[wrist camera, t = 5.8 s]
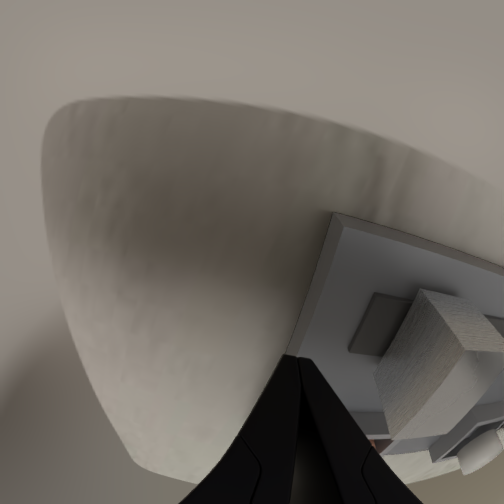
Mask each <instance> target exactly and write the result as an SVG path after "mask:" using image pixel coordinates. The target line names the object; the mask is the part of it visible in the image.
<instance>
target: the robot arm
mask: <svg viewBox="0 0 504 504" xmlns="http://www.w3.org/2000/svg"><path fill="white" fill-rule="evenodd" d="M501 428H504V424H503V425H502V426H501V427H500V428H499V429H501ZM178 504H423V503H422V502H421V501H420V500H419V499H418V498H417V497H416V496H415V495H414V494H413V493H412V492H411V491H410V490H409V488H407V486H406V485H405V484H404V483H403V482H402V481H401V480H400V479H399V478H398V477H397V475H396V474H395V473H394V472H393V471H392V470H391V469H390V467H389V466H388V465H387V463H386V462H385V461H384V460H383V458H382V457H381V456H380V454H379V453H378V452H377V450H376V449H375V447H374V446H372V443H371V442H370V441H369V439H368V438H367V436H366V435H365V434H364V432H363V431H362V429H361V428H360V427H359V425H358V424H357V422H356V421H355V420H354V418H353V417H352V415H351V414H350V413H349V411H348V410H347V408H346V407H345V406H344V404H343V403H342V401H341V400H340V399H339V397H338V396H337V394H336V393H335V392H334V390H333V389H332V387H331V386H330V384H329V383H328V382H327V380H326V379H325V377H324V376H323V374H322V373H321V372H320V370H319V369H318V367H317V366H316V364H315V363H314V362H313V360H312V359H310V358H305V357H296V356H294V355H288V354H283V355H282V357H281V358H280V360H279V362H278V364H277V366H276V368H275V370H274V372H273V373H272V375H271V377H270V379H269V381H268V383H267V384H266V386H265V388H264V390H263V392H262V393H261V395H260V397H259V399H258V400H257V402H256V404H255V406H254V407H253V409H252V411H251V413H250V414H249V416H248V418H247V419H246V421H245V423H244V424H243V426H242V428H241V429H240V431H239V433H238V435H237V436H236V437H235V439H234V440H233V442H232V444H231V445H230V447H229V448H228V450H227V451H226V453H225V454H224V455H223V457H222V458H221V460H220V461H219V462H218V463H217V465H216V466H215V467H214V468H213V469H212V470H211V471H210V473H209V474H208V475H207V476H206V477H205V478H204V479H203V480H202V481H201V482H200V483H199V484H198V485H197V486H196V487H195V488H194V489H193V490H192V491H191V492H190V493H189V494H188V495H187V496H186V497H185V498H184V499H183V500H182V501H181V502H180V503H178Z"/></svg>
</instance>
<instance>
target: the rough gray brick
mask: <svg viewBox="0 0 504 504" xmlns="http://www.w3.org/2000/svg"><path fill="white" fill-rule="evenodd" d="M503 368H504V338H503V337H502V336H501V335H500V333H499V332H498V331H497V330H496V329H495V327H494V326H493V325H492V324H491V323H490V322H489V321H488V319H487V318H486V317H485V316H484V315H483V314H482V313H481V311H480V310H479V309H478V308H477V307H476V306H475V305H474V304H473V303H472V302H471V301H470V300H468V299H463V298H459V297H455V296H451V295H446V294H442V293H438V292H434V291H429V290H425V289H421V288H420V289H419V291H418V293H417V295H416V297H415V300H414V302H413V304H412V306H411V308H410V310H409V312H408V314H407V316H406V317H405V319H404V321H403V323H402V325H401V327H400V329H399V331H398V332H397V334H396V336H395V338H394V340H393V341H392V343H391V345H390V347H389V348H388V350H387V352H386V353H385V355H384V357H383V358H382V360H381V362H380V363H379V365H378V366H377V368H376V369H375V371H374V373H373V377H374V380H375V383H376V387H377V390H378V393H379V397H380V400H381V404H382V407H383V411H384V414H385V418H386V422H387V426H388V429H389V433H390V437H391V440H401V439H412V438H421V437H429V436H436V435H443V434H447V433H448V432H449V431H450V430H451V429H452V428H453V427H454V426H455V425H456V424H457V423H458V422H459V421H460V420H461V419H462V418H463V417H464V416H465V415H466V414H467V413H468V412H469V411H470V409H471V408H472V407H473V406H474V405H475V404H476V403H477V402H478V400H479V399H480V398H481V397H482V396H483V394H484V393H485V392H486V391H487V389H488V388H489V387H490V386H491V384H492V383H493V382H494V381H495V379H496V378H497V377H498V375H499V374H500V373H501V371H502V370H503Z"/></svg>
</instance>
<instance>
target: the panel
mask: <svg viewBox="0 0 504 504" xmlns="http://www.w3.org/2000/svg"><path fill="white" fill-rule="evenodd" d="M420 288H421V289H425V290H429V291H434V292H438V293H442V294H446V295H451V296H455V297H459V298H463V299H468V300H470V301H471V302H472V303H473V304H474V305H475V306H476V307H477V308H478V309H479V310H480V311H481V313H482V314H483V315H484V316H485V317H486V318H487V319H488V321H489V322H490V323H491V324H492V325H493V326H494V327H495V329H496V330H497V331H498V332H499V333H500V335H501V336H502V337H503V338H504V268H503V267H500V266H498V265H495V264H492V263H490V262H487V261H485V260H482V259H479V258H477V257H474V256H471V255H469V254H466V253H463V252H460V251H458V250H455V249H452V248H449V247H446V246H443V245H441V244H438V243H435V242H432V241H429V240H426V239H423V238H420V237H417V236H413V235H410V234H407V233H404V232H401V231H398V230H394V229H391V228H388V227H384V226H381V225H378V224H374V223H371V222H368V221H364V220H361V219H357V218H354V217H350V216H346V215H343V214H339V213H335V212H333V215H332V218H331V222H330V225H329V228H328V232H327V235H326V238H325V241H324V245H323V248H322V251H321V254H320V257H319V260H318V264H317V267H316V270H315V273H314V276H313V279H312V282H311V285H310V288H309V291H308V293H307V296H306V299H305V302H304V305H303V308H302V311H301V313H300V316H299V319H298V322H297V324H296V327H295V330H294V332H293V335H292V338H291V340H290V343H289V346H288V348H287V351H286V353H285V354H288V355H294V356H296V357H305V358H310V359H312V360H313V362H314V363H315V364H316V366H317V367H318V369H319V370H320V372H321V373H322V374H323V376H324V377H325V379H326V380H327V382H328V383H329V384H330V386H331V387H332V389H333V390H334V392H335V393H336V394H337V396H338V397H339V399H340V400H341V401H342V403H343V404H344V406H345V407H346V408H347V410H348V411H349V413H350V414H351V415H352V417H353V418H354V420H355V421H356V422H357V424H358V425H359V427H360V428H361V429H362V431H363V432H364V434H365V435H366V436H367V438H368V439H374V441H375V446H376V450H377V452H378V453H379V454H380V456H381V457H383V456H384V455H393V454H403V453H411V452H418V451H425V450H429V452H430V456H431V459H432V462H433V463H436V462H441V461H445V460H449V459H453V458H457V453H458V452H459V451H460V450H461V449H462V448H463V447H464V446H465V445H466V444H468V443H469V442H470V441H472V440H473V439H475V438H476V437H478V436H479V435H481V434H483V433H485V432H487V431H489V430H492V429H495V431H497V430H498V429H499V428H500V427H501V426H502V425H503V424H504V368H503V370H502V371H501V373H500V374H499V375H498V377H497V378H496V379H495V381H494V382H493V383H492V384H491V386H490V387H489V388H488V389H487V391H486V392H485V393H484V394H483V396H482V397H481V398H480V399H479V400H478V402H477V403H476V404H475V405H474V406H473V407H472V408H471V409H470V411H469V412H468V413H467V414H466V415H465V416H464V417H463V418H462V419H461V420H460V421H459V422H458V423H457V424H456V425H455V426H454V427H453V428H452V429H451V430H450V431H449V432H448V433H447V434H443V435H436V436H429V437H421V438H412V439H401V440H391V437H390V433H389V429H388V426H387V422H386V418H385V414H384V411H383V407H382V404H381V400H380V397H379V393H378V390H377V387H376V383H375V380H374V377H373V373H374V371H375V369H376V368H377V366H378V365H379V363H380V362H381V360H382V358H383V357H384V355H385V353H386V352H387V350H388V348H389V347H390V345H391V343H392V341H393V340H394V338H395V336H396V334H397V332H398V331H399V329H400V327H401V325H402V323H403V321H404V319H405V317H406V316H407V314H408V312H409V310H410V308H411V306H412V304H413V302H414V300H415V297H416V295H417V293H418V291H419V289H420Z"/></svg>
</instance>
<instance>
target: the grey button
mask: <svg viewBox="0 0 504 504" xmlns="http://www.w3.org/2000/svg"><path fill="white" fill-rule="evenodd" d="M502 450H503V446H502V444H501V442H500V439H499V437H498V435H497V433H496V431H495V429H492V430H489V431H487V432H485V433H483V434H481V435H479V436H478V437H476V438H475V439H473V440H472V441H470V442H469V443H468V444H466V445H465V446H464V447H463V448H462V449H461V450H460V451H459V452H458V453H457V457H458V460H459V463H460V466H461V469H462V473H463V475H467V474H470V473H472V472H474V471H476V470H478V469H480V468H481V467H483V466H484V465H486V464H487V463H489V462H490V461H491V460H493V459H494V458H495V457H496V456H497V455H498V454H500V452H501V451H502Z"/></svg>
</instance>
